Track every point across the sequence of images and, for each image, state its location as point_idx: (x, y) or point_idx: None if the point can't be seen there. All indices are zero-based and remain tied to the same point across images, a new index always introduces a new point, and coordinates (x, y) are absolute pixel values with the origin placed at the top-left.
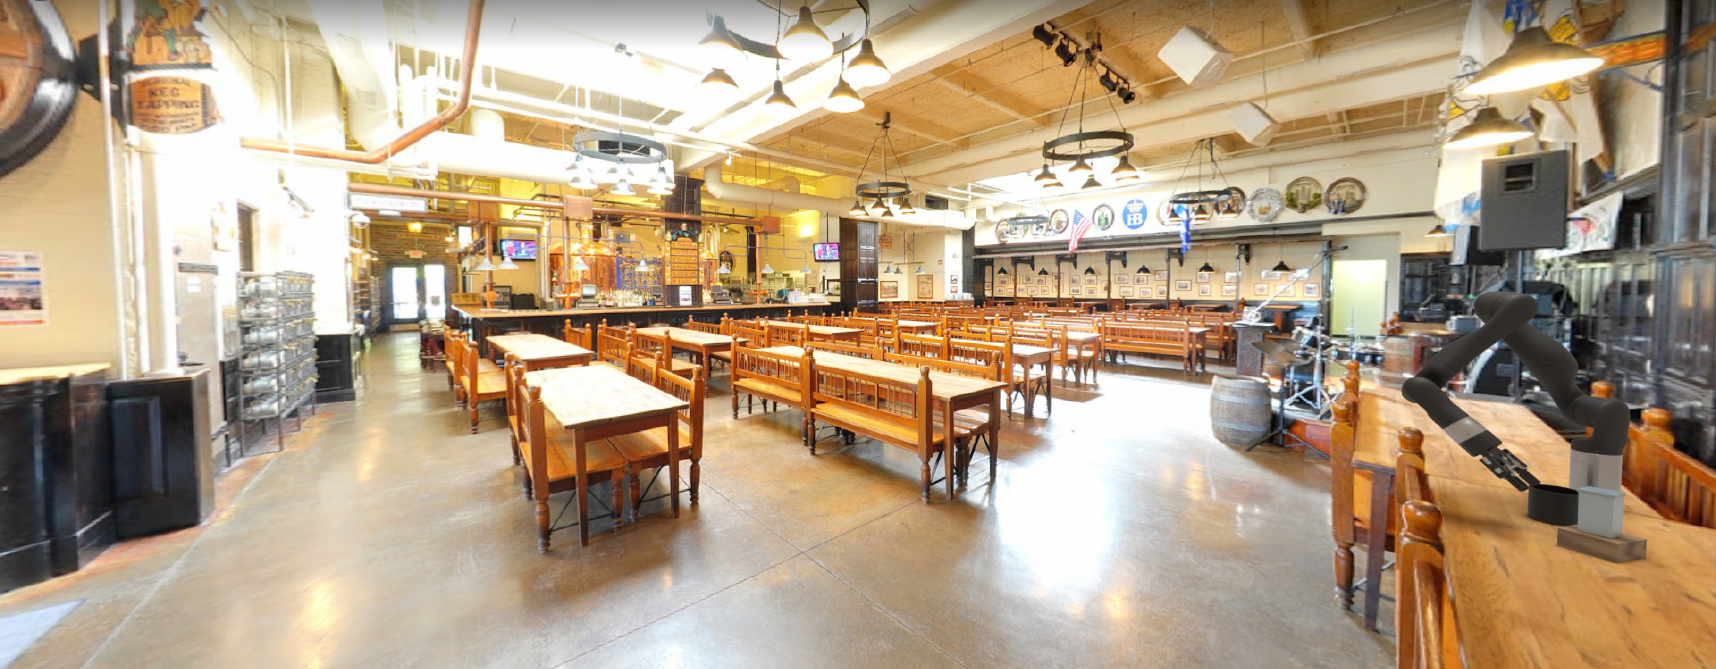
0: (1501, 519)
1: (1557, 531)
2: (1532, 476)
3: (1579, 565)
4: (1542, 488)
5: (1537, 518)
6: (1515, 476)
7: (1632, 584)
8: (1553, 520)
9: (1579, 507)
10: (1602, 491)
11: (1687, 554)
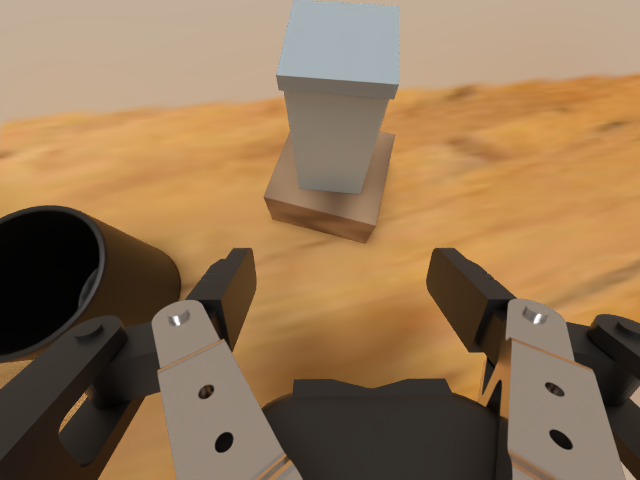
0: None
1: (372, 230)
2: (238, 272)
3: (465, 194)
4: None
5: None
6: (505, 300)
7: (482, 136)
8: (175, 282)
9: (373, 146)
10: (351, 35)
11: (215, 115)
